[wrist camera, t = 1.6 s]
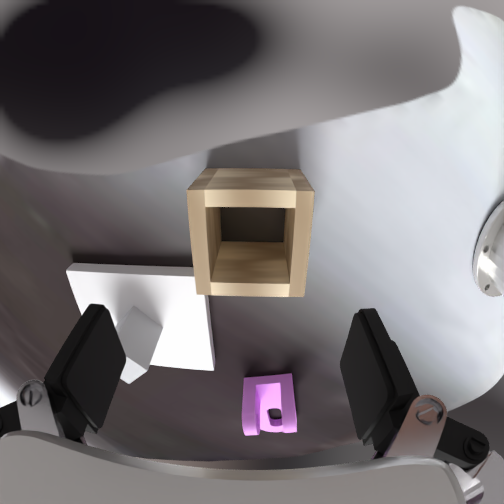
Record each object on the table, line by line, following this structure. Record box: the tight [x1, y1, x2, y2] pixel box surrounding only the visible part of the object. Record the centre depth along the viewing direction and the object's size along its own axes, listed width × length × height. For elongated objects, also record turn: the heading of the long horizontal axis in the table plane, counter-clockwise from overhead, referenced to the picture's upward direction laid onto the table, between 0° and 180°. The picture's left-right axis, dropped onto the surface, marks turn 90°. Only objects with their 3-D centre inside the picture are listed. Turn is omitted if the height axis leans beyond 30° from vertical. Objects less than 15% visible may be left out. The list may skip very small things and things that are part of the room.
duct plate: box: [66, 263, 215, 384], centre depth 25 cm, size 14×12×7 cm
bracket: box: [242, 373, 297, 435], centre depth 31 cm, size 13×6×7 cm, turn 9°
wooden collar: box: [187, 168, 315, 297], centre depth 20 cm, size 7×7×6 cm
